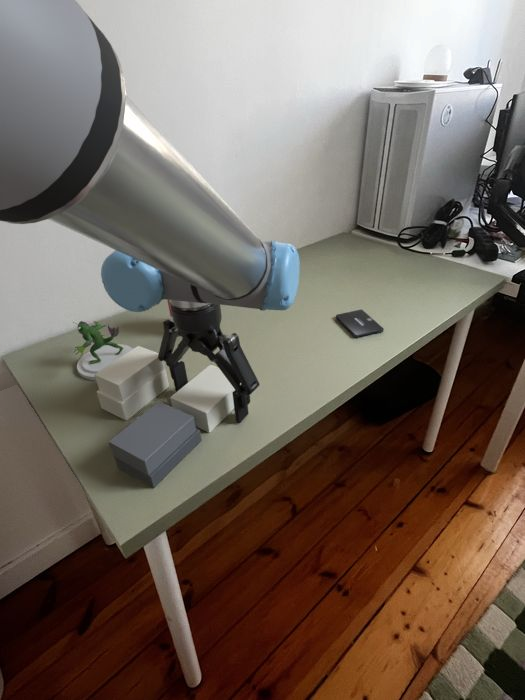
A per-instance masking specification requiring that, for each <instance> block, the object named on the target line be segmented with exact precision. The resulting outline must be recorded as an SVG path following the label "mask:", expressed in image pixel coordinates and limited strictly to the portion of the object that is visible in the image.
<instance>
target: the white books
mask: <svg viewBox="0 0 525 700" xmlns="http://www.w3.org/2000/svg"><path fill="white" fill-rule="evenodd" d="M158 354H159V352H156V351H154V350H151V349H148V348H146V347H142V346H140V345H137V346H136V347H134V348H133V350H131V351H130V352H128V353H126V354H125V355H123V356H122V357H120V358H119V359H117V360H116V361H114V362H113V363H111V364H110V365H108V366H107V367H105V368H103V369H102V370H100V371H99V372H97V373H96V374H94V375H95V378H96V380H95V381H96V384H97V387H98V390H97V391H96V395H97V398H98V401H99V404H100V407H101V409H102V410H104V411H106V412H108V413H110V414H112V415H114V416H116V417H118V418H120V419H122V420H124V421H128V420H129V419H131V418H132V417H133V416H134V415H135V414H137V413H138V412H139V411H141V410H142V409H143V408H144V407H146V406H147V405H148V404H149V403H151V402H152V401H153V400H154V399H156V398H157V397H158V396H160V395H161V394H162V393H163V392H165V391H166V390H168V388H170V383H169V379H168V378H169V377H168V374H167V370H166V367H165V361H164V360H163V361H160V360H159V359H158Z"/></svg>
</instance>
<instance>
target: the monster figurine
mask: <svg viewBox="0 0 525 700" xmlns="http://www.w3.org/2000/svg"><path fill="white" fill-rule="evenodd" d="M72 323H74V324H75V322H74V321H72ZM93 323H94V324H95V325H89V324H88V323H87V322H85V321H82V320H81V321H79V322H78V323H76V326H77V327H76V328H77V332H78V333H79V334H81V335H82V339H83V340H84V341H85V342H84V343H83V344H82V345H77V346H75V347H74V351H73V354H74V353H75V356H77V355H78V354H79V353H81V354H80V359H78V362H77V364H76V370H77V372H78V374H79V376H80V377H82V378H83V379H86V380H88V381H96V378H95V375H94V374H96V373H97V372H99V371H100V370H102V369H103V368H105V367H107V366H108V365H110V364H111V363H113V362H114V361H116V360H117V359H119V358H120V357H122V356H123V355H125V354H126V353H128V352H130V351H131V350H133V349H134V348H133V347H132V346H130V345H126V344H121V343H115V342H112V341H113V340H114V338H117V337H118V335H119V333H120V327H119V326H117V327H113V328H112V327H110V326H109V324H108V325H107V324H105V325H103V324H102V323H101V324H100V322H99V321H95V320H93ZM106 326H107V329H108V332H109V334H110V336H108V337H106V338H105V337H103V336H105V334H104V335H103V334H102V332H101V331H99V330H101V329H103V328H105V327H106ZM92 343H93V344H92ZM91 345H92V346H91ZM89 346H91V347H90V349H89V351H87V353H85V354H84V351H85V349H86V348H88V347H89Z"/></svg>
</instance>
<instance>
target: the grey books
mask: <svg viewBox="0 0 525 700" xmlns="http://www.w3.org/2000/svg"><path fill="white" fill-rule="evenodd" d="M201 442H202V435H201V429H200V428H198V427H195V422H194V417H193V416H191V415H189V414H187V413H184V412H182V411H180V410H178V409H175V408H173V407H172V405H171V406H170V405H168V404H167V403H164V402H162V401H157V402H155V404H153V405H152V406H151V407H149V409H147V410H146V411H144V412H143V413H142V414H141V415H140V416H138V417H136V419H134V420H133V421H132V422H131V423H129V425H127V426H126V427H125V428H123V429H122V430H121V431H119V432H118V434H116V435H115V436H114V437H112V438H111V439H110V440H108V445H109V447H110V449H111V452H112V456H113V458H114V461H115V464H116V467H117V468H119V469H121V470H122V471H123V472H125V473H128V474H129V475H131V476H132V477H135V478H136V479H137V480H139V481H141V482H143V483H145V484H146V485H148V486H149V487H152V488H153V489H155V488H156V487H157V486H158V485H159V484H160V483H161V482H162V481H163V480H164V479H165V478H166V477H167V476H168V475H169V474H170V473H171V472H172V471H173V470H174V469H175V468H176V467H177V466H178V465H179V464H180V463H181V462H182V461H183V460H184V459H185V458H186V457H187V456H188V455H189V454H190V453H191V452H192V451H193V450H194V449H195V448H196V447H197V446H198V445H199V444H200V443H201Z"/></svg>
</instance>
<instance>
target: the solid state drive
mask: <svg viewBox="0 0 525 700" xmlns="http://www.w3.org/2000/svg"><path fill="white" fill-rule="evenodd" d="M335 319H336V320H337V321H338V322H339V323H340V324H341V325H342V326H343V327H344V328H345V329H346V330H347V331H348V332H349V333H350V334H351V335H352V336H353V337H354V338H356V339H359V338H360V337H365V336H367V335H372V334H379V333H384V331H385V328H384V327H383V326H382V325H380V324H379V323H378V322H377V321H376V320H374V319H373V318H372V316H370V315H369V314H368V313H367V312H366V311H364V310H363V309H356V310H352V311H348V312H341V313H338V314H336V315H335Z"/></svg>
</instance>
